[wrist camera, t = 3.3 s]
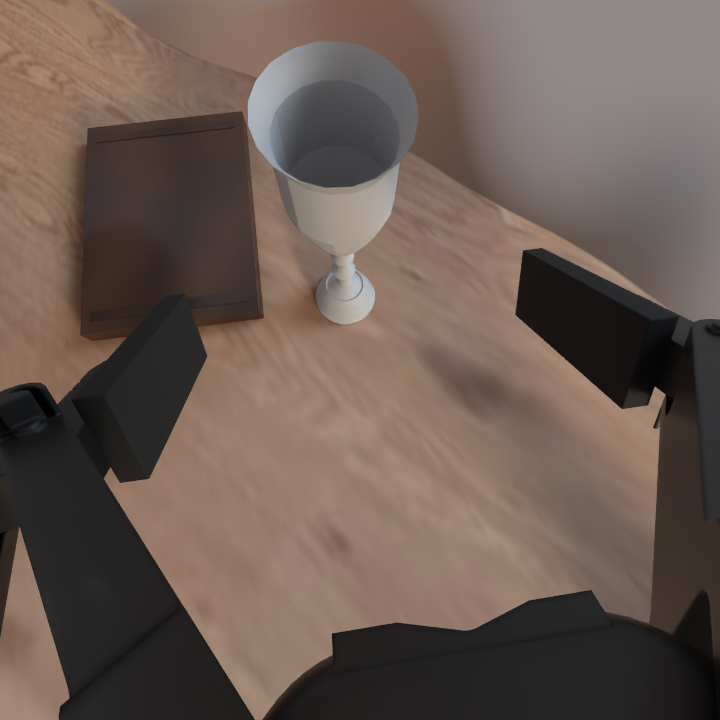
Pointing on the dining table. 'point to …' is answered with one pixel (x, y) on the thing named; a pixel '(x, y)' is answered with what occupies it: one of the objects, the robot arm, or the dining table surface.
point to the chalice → (335, 154)
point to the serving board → (169, 223)
